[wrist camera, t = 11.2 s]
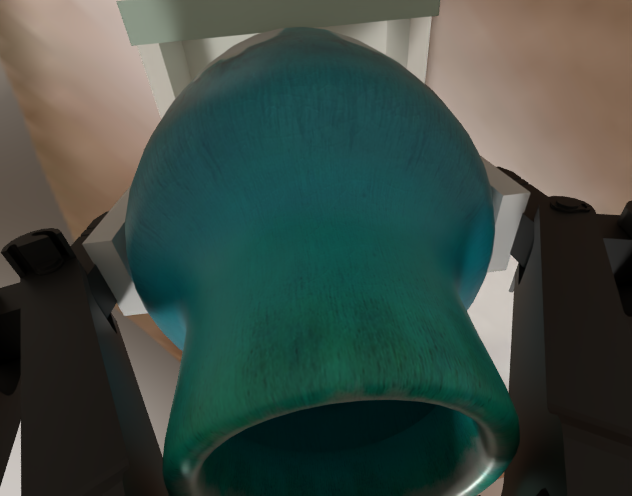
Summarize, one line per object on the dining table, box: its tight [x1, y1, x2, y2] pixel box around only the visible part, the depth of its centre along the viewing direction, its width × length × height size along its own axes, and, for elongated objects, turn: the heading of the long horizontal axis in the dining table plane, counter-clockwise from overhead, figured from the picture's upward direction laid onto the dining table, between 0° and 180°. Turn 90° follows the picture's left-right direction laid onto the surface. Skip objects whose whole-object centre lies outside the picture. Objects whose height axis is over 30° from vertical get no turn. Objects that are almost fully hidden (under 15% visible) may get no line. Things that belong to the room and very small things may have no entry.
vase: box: [125, 27, 520, 496], centre depth 13 cm, size 11×11×19 cm
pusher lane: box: [122, 0, 432, 119], centre depth 21 cm, size 22×16×8 cm
